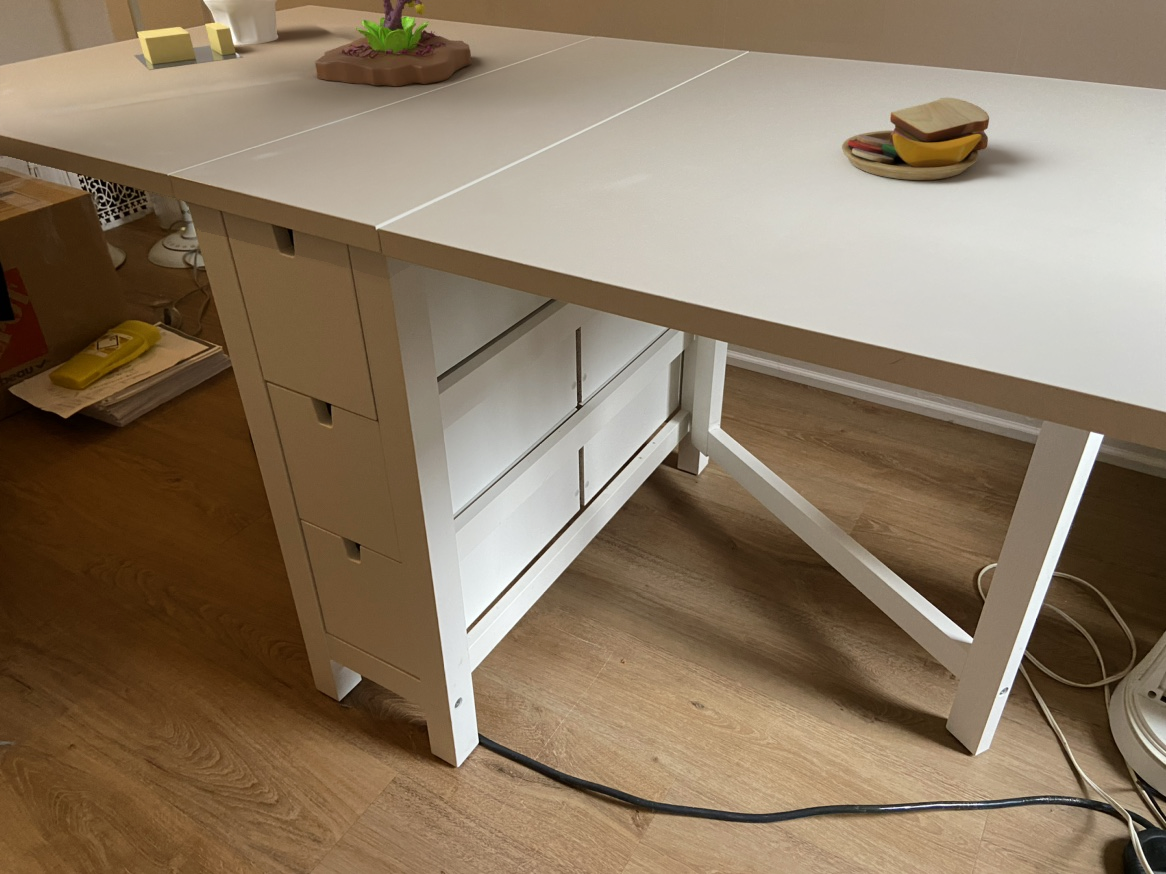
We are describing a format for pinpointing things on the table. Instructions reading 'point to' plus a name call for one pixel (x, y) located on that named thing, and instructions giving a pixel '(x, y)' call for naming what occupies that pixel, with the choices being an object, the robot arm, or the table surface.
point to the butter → (166, 45)
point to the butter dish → (201, 55)
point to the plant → (394, 53)
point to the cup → (246, 19)
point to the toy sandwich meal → (923, 142)
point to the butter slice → (220, 38)
